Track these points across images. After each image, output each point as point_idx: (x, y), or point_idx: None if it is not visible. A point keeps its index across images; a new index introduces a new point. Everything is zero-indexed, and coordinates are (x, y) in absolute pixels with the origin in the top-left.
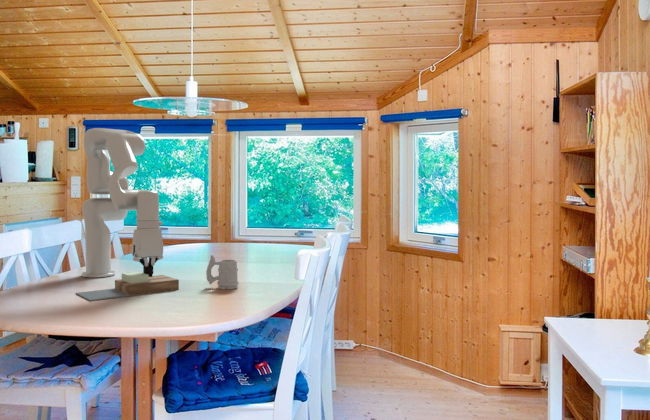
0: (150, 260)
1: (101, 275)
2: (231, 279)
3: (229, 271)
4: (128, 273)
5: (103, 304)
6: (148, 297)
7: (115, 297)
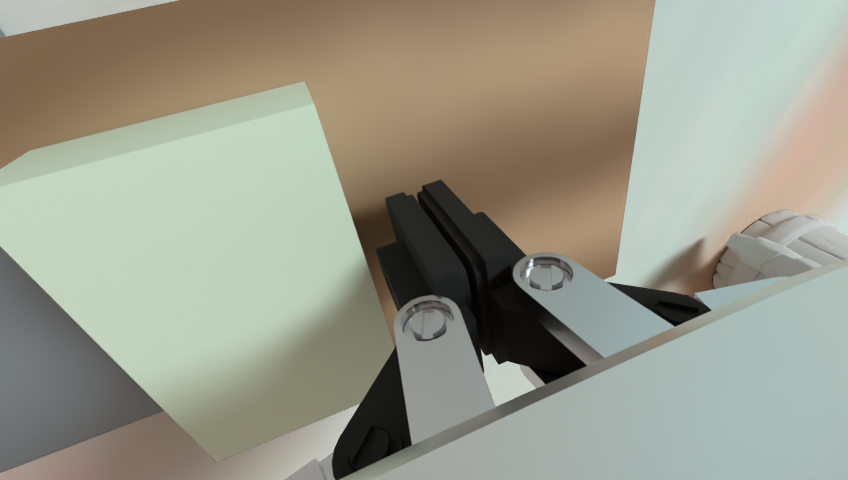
0: (583, 325)
1: None
2: None
3: None
4: (133, 257)
5: None
6: (343, 410)
7: (106, 429)
